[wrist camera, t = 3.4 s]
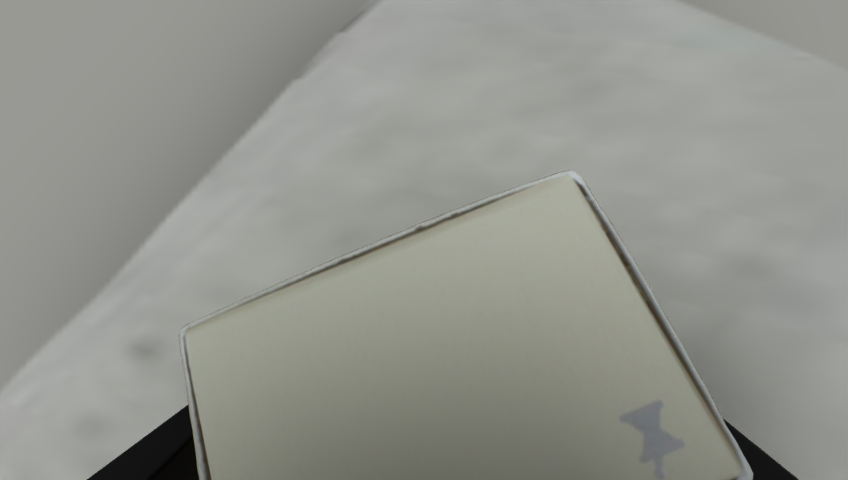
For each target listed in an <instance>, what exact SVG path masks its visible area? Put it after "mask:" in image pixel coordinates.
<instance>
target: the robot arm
mask: <svg viewBox="0 0 848 480" xmlns="http://www.w3.org/2000/svg"><path fill="white" fill-rule="evenodd" d="M723 420H724V419H723ZM724 422H725V424H726V426H727V428H728V429H729V431H730V432H731V434H732V436H733V437H734V439H735V440H736V442H737V444H738V446H739V448H740V450H741V451H742V453H743V455H744V457H745V458H746V460H747V462H748V464H749V465H750V467H751V470H752V472H753V480H798V479H797V478H796V477H795V476H793V475H792V474H791V473H790V472H789V471H787V470H786V469H785V468H784V467H782V466H781V465H780V464H779V463H777V462H776V461H775V460H774V459H772V458H771V457H770V456H769V455H768V454H766V453H765V452H764V451H763V450H761V449H760V448H759V447H758V446H756V445H755V444H754V443H753V442H751V441H750V440H749V439H748V438H747V437H745V436H744V435H743V434H742V433H740V432H739V431H738V430H737V429H735V428H734V427H733V426H732V425H730V424H729V423H728V422H727V421H726V420H724ZM87 480H200V479H199V474H198V470H197V460H196V452H195V445H194V438H193V430H192V425H191V419H190V413H189V405H187V406H186V407H184V408H183V409H182V410H180V411H179V412H178V413H176V414H175V415H174V416H172V417H171V418H169V419H168V420H167V421H165V422H164V423H163V424H161V425H160V426H159V427H157V428H156V429H155V430H153V431H152V432H151V433H149V434H148V435H147V436H145V437H144V438H143V439H141V440H140V441H138V442H137V443H136V444H134V445H133V446H132V447H130V448H129V449H128V450H126V451H125V452H124V453H122V454H121V455H120V456H118V457H117V458H116V459H114V460H113V461H112V462H110V463H109V464H107V465H106V466H105V467H103V468H102V469H101V470H99V471H98V472H97V473H95V474H94V475H93V476H91V477H90V478H89V479H87Z"/></svg>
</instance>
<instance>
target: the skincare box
mask: <svg viewBox="0 0 848 480" xmlns="http://www.w3.org/2000/svg"><path fill="white" fill-rule="evenodd" d="M179 345H180V352H181V357H182V363H183V369H184V374H185V380H186V388H187V397H188V405H189V413H190V419H191V425H192V430H193V438H194V445H195V452H196V460H197V470H198V474H199V479H200V480H753V472H752V470H751V467H750V465H749V464H748V462H747V460H746V458H745V457H744V455H743V453H742V451H741V450H740V448H739V446H738V444H737V442H736V440H735V439H734V437H733V436H732V434H731V432H730V431H729V429H728V428H727V426H726V424H725V422H724V420H723V418H722V417H721V415H720V413H719V411H718V409H717V407H716V405H715V403H714V401H713V399H712V397H711V395H710V393H709V391H708V390H707V388H706V386H705V385H704V383H703V381H702V380H701V378H700V377H699V375H698V373H697V371H696V370H695V368H694V366H693V364H692V362H691V360H690V358H689V356H688V354H687V352H686V351H685V349H684V347H683V345H682V343H681V341H680V340H679V338H678V336H677V335H676V333H675V331H674V330H673V328H672V326H671V325H670V323H669V321H668V319H667V318H666V316H665V314H664V312H663V310H662V308H661V307H660V305H659V303H658V302H657V300H656V298H655V296H654V294H653V293H652V291H651V289H650V287H649V285H648V284H647V282H646V280H645V278H644V277H643V275H642V273H641V272H640V270H639V268H638V267H637V265H636V263H635V262H634V260H633V258H632V256H631V255H630V253H629V251H628V250H627V248H626V246H625V244H624V243H623V241H622V239H621V238H620V236H619V235H618V233H617V232H616V230H615V228H614V227H613V225H612V223H611V222H610V220H609V219H608V218H607V216H606V215H605V213H604V212H603V211H602V209H601V208H600V206H599V205H598V203H597V201H596V199H595V198H594V196H593V194H592V193H591V191H590V189H589V188H588V186H587V184H586V183H585V182H584V180H583V179H582V177H581V176H580V175H579V173H578V172H574V171H570V170H569V171H563V172H559V173H556V174H553V175H550V176H548V177H545V178H542V179H539V180H536V181H532V182H529V183H526V184H523V185H521V186H518V187H515V188H513V189H510V190H507V191H504V192H501V193H498V194H495V195H492V196H490V197H487V198H485V199H482V200H479V201H476V202H473V203H471V204H468V205H466V206H463V207H461V208H458V209H456V210H452V211H449V212H447V213H445V214H442V215H440V216H438V217H435V218H433V219H430V220H428V221H425V222H423V223H420V224H418V225H415V226H413V227H410V228H408V229H406V230H404V231H401V232H399V233H396V234H393V235H390V236H388V237H386V238H384V239H381V240H379V241H377V242H374V243H372V244H369V245H367V246H365V247H362V248H360V249H357V250H355V251H352V252H350V253H348V254H345V255H343V256H340V257H338V258H336V259H333V260H331V261H329V262H326V263H324V264H322V265H319V266H317V267H315V268H313V269H310V270H308V271H306V272H303V273H301V274H299V275H296V276H294V277H291V278H289V279H287V280H285V281H282V282H280V283H278V284H276V285H273V286H271V287H269V288H267V289H265V290H263V291H261V292H258V293H256V294H254V295H251V296H249V297H246V298H244V299H242V300H240V301H238V302H236V303H233V304H231V305H229V306H227V307H225V308H223V309H220V310H218V311H216V312H214V313H211V314H209V315H207V316H205V317H203V318H200V319H198V320H196V321H193V322H191V323H189V324H186V325H185V326H184V327H183V328H182V329H181V330H180V333H179Z"/></svg>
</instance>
